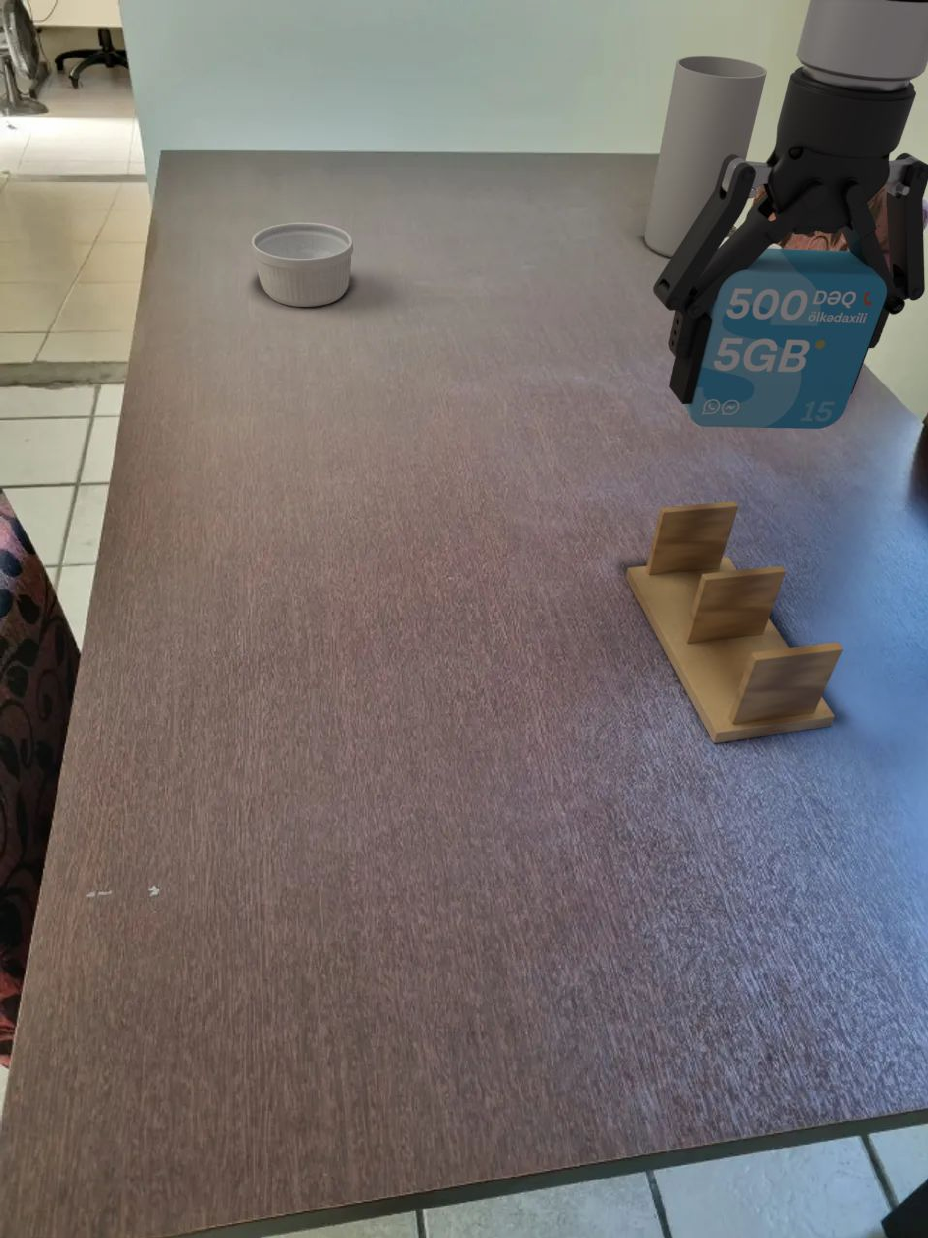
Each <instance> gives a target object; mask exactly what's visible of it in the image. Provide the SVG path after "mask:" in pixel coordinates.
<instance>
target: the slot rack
mask: <svg viewBox="0 0 928 1238" xmlns="http://www.w3.org/2000/svg"><path fill="white" fill-rule="evenodd" d="M738 510H739V504H738V503H737V502H736V501H735V500H731V501H720V502H719V501H718V502H708V503H697V504H686V505H676V506H665V507H663V506H662V507H660V509H659V513H658V518H657V521H656V526H655V530H654V534H653V538H652V542H651V545H650V552H649V554H648V559H647V563H646V565H640V566H632V567H631V566H630V567H627V569H626V574H625V579H626V581H627V583H628V586H629V587H630V589H631V590H632V593H633V594H634V596H635V598H636V600H637V602H638V604H639V605H640V607H641V609H642V611H643V613H644V615H645V617H646V619H647V621H648V622H649V624H650V626H651V628H652V630H653V632H654V634H655V636H656V637H657V639H658V641H659V644H660V645H661V647H662V649H663V651H664V653H665V655H666V656H667V658H668V660H669V662H670V664H671V666H672V667H673V669H674V671H675V673H676V676H677V677H678V679H679V681H680V683H681V685H682V686H683V688H684V690H685V692H686V694H687V696H688V698H689V699H690V702H691V703H692V705H693V707H694V709H695V711H696V713H697V714H698V717H699V719H700V721H701V722H702V724H703V726H704V727H705V730H706V732H707V734H708V735H709V737H710V740H711V741H712V743H713V744H716V743H718V744H719V743H724V742H732V741H738V739H739V740H744V739H752V738H759V737H764V736H765V737H766V736H772V735H773V736H774V735H780V734H786V733H794V732H801V731H808V730H814V729H821V728H829V727H831V726H832V724H833V722H834V720H835V718H836V716H835V714H834V712H833V711H832V709H831V708H830V707H829V705H828V703H827V701H826V700H825V699H824V698H823V695H824V692H825V690H826V688H827V686H828V684H829V681H830V679H831V676H832V675H833V673H834V671H835V669H836V666H837V664H838V661H839V659H840V657H841V654H842V652H843V651H844V648H843V647H842V645H841V644H840V643H839V641H836V642H835V641H834V642H827V643H818V644H810V645H805V646H804V645H803V646H795V647H789V645H788V644H787V643H786V640H785V639H784V638H783V636H782V635H781V633H780V632H779V630H778V629H777V627H776V626H775V624H774V623H773V622H772V620H771V619H770V616H771V614H772V611H773V608H774V607H775V603H776V601H777V598H778V595H779V592H780V590H781V587H782V584H783V582H784V579H785V576H786V573H787V570H786V569H785V567H784V566H783V565H775V566H765V567H756V568H746V569H737V568H736V566H735V564H733V562H732V560H731V559H730V558H729V557H724V554H725V551H726V548H727V545H728V543H729V538H730V535H731V532H732V529H733V526H734V522H735V519H736V516H737V512H738ZM807 729H808V730H807ZM793 731H794V732H793Z"/></svg>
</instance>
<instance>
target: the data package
mask: <svg viewBox="0 0 928 1238" xmlns="http://www.w3.org/2000/svg"><path fill="white" fill-rule="evenodd" d="M886 295H887V287H886V284H885V282H884V280H883V279H882V278H881V277H880V276H879V275H878V274H877V273H876V272H875V271H874V270H873V269H872V268H871V267H868V266H867V265H865V264H864V263H863V262H862V261H861V260H859V259H858V258H857V257H856V256H854V255H853V254H852V253H850V251H849V250H827V249H825V250H823V249H797V248H796V249H794V248H782V249H769V248H767V249H766V250H765V251H764V252H763V253H762V254H761V255H760V256H759V257H758V258H757V259H756V260H755V262H754V263H753V264H752V265H751V266H750V267H749V268H748V269H747V270H741V271H738V272H736V273H734V274H733V275H731V276H730V277H729V278H728V279H727V280H726V281H725V282H724V283H723V285H722V287H721V289H720V291H719V294H718V298H717V300H716V301H715V302H714V303H713V304H712V305H711V306H710V307H709V308H708V309H707V310H706V311H705V312H706V313H707V315H708V316H709V317H710V318H711V319H712V324H711V328H710V332H709V336H708V340H707V344H706V348H705V352H704V356H703V360H702V364H701V368H700V372H699V376H698V380H697V384H696V388H695V392H694V396H693V400H692V404H683V405H684V407H685V409H686V412H687V413H688V416H689V417H690V420H691V421H692V422H693V423H694V424H696V425H697V426H701V427H704V428H743V429H744V428H745V429H746V428H747V429H748V428H750V429H752V428H753V429H796V430H797V429H798V430H800V429H801V430H802V429H803V430H805V429H806V430H820V429H825V428H828V427H830V426H832V425H834V424H835V423H836V422H837V421H839V420H840V418H841V417H842V416H843V414H844V413H845V410H846V407H847V405H848V402H849V400H850V396H851V395H852V394H851V391H852V389H853V386H854V383H855V381H856V378H857V375H858V372H859V370H860V367H861V364H862V362H863V359H864V356H865V353H866V351H867V348H868V345H869V343H870V340H871V337H872V334H873V332H874V329H875V326H876V324H877V321H878V318H879V315H880V313H881V310H882V307H883V305H884V302H885V299H886Z"/></svg>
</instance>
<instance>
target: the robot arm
mask: <svg viewBox="0 0 928 1238" xmlns="http://www.w3.org/2000/svg"><path fill="white" fill-rule="evenodd" d="M795 55H796V57H797V59H798V61H799V62H800V64H801V65H802V66H800V67H798V68H796V69H795V70H794V71H793V72H792V73H791V74H790V76H789V79H788V83H787V86H786V91H785V94H784V97H783V102H782V105H781V110H780V113H779V117H778V121H777V126H776V139H775V146H774V148H773V151H771V154H770V155H769V157H768V158H767V160H766V161H765V162H762V161H761V162H760V161H753V160H752V161H750V160H749V161H748V160H746V161H744V160H743V159H742V158H740V157H739V156H738V155H736V154H731V155H729V156H727V157H726V158H725V159H724V161H723V164H722V167H721V170H720V174H719V177H718V180H717V183H716V187H715V190H714V192H713V193H712V195H711V196H710V198H709V200H708V201H707V203H706V204H705V206H704V207H703V209H702V211H701V212H700V214H699V215H698V217H697V218H696V220H695V222H694V223H693V225H692V226H691V228H690V229H689V231H688V233H687V234H686V236H685V237H684V239H683V240H682V242H681V244H680V245H679V247H678V248H677V250H676V251H675V253H674V255H673V256H672V258H671V257H670V259H669V261H668V262H667V264H666V266H665V267H664V269H663V271H662V272H661V273H660V275H659V276H658V278H657V280H656V281H655V283H654V285H653V287H652V291H653V294H654V296H656V297H657V299H658V300H659V301H660V302H661V304H663V306H664V307H665V309H667V310H668V311H671V312H673V311H674V315H673V318H672V319H673V320H672V325H671V329H670V334H669V339H668V343H667V344H668V350H669V351H670V352H671V354H672V355H673V357H674V362H673V367H672V371H671V375H670V379H669V380H670V381H669V383H668V387H669V389H670V390H671V391H672V392H673V394H674V395H675V396H676V398H677V399H678V401H679V402H680V403H681V405H684V404H692V400H693V396H694V392H695V388H696V384H697V380H698V376H699V372H700V368H701V364H702V360H703V356H704V352H705V348H706V344H707V340H708V336H709V332H710V328H711V324H712V319H711V318H710V317H709V316H708V315H707V313H706V312H705V311H706V310H707V309H708V308H709V307H710V306H711V305H712V304H713V303H714V302H715V301H716V300H717V298H718V294H719V291H720V289H721V287H722V285H723V283H724V282H725V281H726V280H727V279H728V278H729V277H730V276H731V275H733V274H734V273H736V272H738V271H741V270H747V269H748V268H749V267H750V266H751V265H752V264H753V263H754V262H755V260H756V259H757V258H758V257H759V256H760V255H761V254H762V253H763V252H764V251H765V250H766V249H767V248H768V247H769V246H770V245H772V244H779V243H780V242H781V241H783V240H784V239H785V238H786V237H787V236H788V235H789V233H790V232H792V233H793V234H794V235H809V234H811V233H815V232H821V233H823V234H828V235H829V234H831V235H832V234H834V235H835V234H838V233H839V230H840V231H841V233H842V236H843V238H844V240H845V243H846V246H847V248H848V251H850V253H852V254H853V255H854V256H856V257H857V258H858V259H859V260H861V261H862V262H863V263H864V264H865V265H867V266H868V267H871V268H872V269H873V270H874V271H875V272H876V273H877V274H878V275H879V276H880V277H881V278H882V279H883V280H884V282H885V284H886V287H887V295H886V299H885V302H884V305H883V307H882V310H881V313H880V315H879V318H878V321H877V324H876V326H875V329H874V332H873V334H872V337H871V340H870V343H869V345H868V348H867V351H866V353H865V356H864V359H863V362H862V364H861V367H860V370H859V372H858V375H857V378H856V381H855V383H854V386H853V389H852V391H851V394H850V395H852V394H853V392H854V390H855V386H856V384H857V381H858V378H859V376H860V373H861V371H862V368H863V366H864V363H865V361H866V357H867V354H868V353H869V349H875V348H876V346H877V345H878V344H879V342H880V339H881V337H882V334H883V332H884V329H885V327H886V324H887V321H888V318H889V316H890V315H892V316H895V315H898V314H900V313H901V312H902V311H903V310H904V308H905V306H906V300H910V301H912V302H913V301H917V300H919V299H920V298H922V296H923V295H924V293H925V290H926V286H925V285H926V284H925V283H926V282H925V280H926V279H925V278H926V277H925V245H924V244H925V243H924V240H925V239H924V206H923V204H924V203H923V200H924V196H925V192H926V190H927V185H928V163H925V162H924V161H922V160H920V159H919V158H917V157H915V156H913V155H912V154H910V153H909V152H903V153H900V154H899V155H897V157H896V158H895V159H894V160H890V156H891V153H892V152H894V151H895V150H896V149H897V148H898V147H899V145H900V142H901V139H902V136H903V133H904V131H905V127H906V125H907V121H908V119H909V116H910V113H911V110H912V107H913V104H914V102H915V98H916V96H917V91H916V90H915V86H914V84H913V83H912V82H911V81H912V80H915V79H918V78H919V77H920V76H921V75H922V74H924V73H925V71H926V69H927V66H928V0H809V4H808V8H807V11H806V15H805V20H804V22H803V27H802V31H801V35H800V39H799V43H798V47H797V50H796V54H795ZM762 186H763V189H764V191H765V193H764V194H763V196H761V198H760V199H758V200H757V201H756V203H755V204H753V206H752V207H751V208H750V209H749V210H748V211H747V213H746V217H745V218H746V219H745V220H744V221H743V222H742V224H740V225H739V226H738V228H736V230H735V231H733V233H732V234H731V235H730V236H727V235H729V233H730V232H731V230H733V227H734V226H735V225H736V223H737V221H738V220H739V218H740V216H741V215H742V213H743V211H744V209H745V208H746V205H747V204H748V200H749V199H754V198H755V197H756V196H757V193H758V191H757V190H758V189H759V188H760V187H762ZM883 188H884V190H885V192H886V194H885V195H886V196H885V197H886V199H885V200H886V201H885V202H886V220H887V221H886V222H887V238H888V254H889V256H888V257H889V265H888V262H887V260H886V257H885V256H884V255H885V254H884V252H883V249H882V247H881V244H880V241H879V239H878V236H877V234H876V233H877V232H876V230H877V226H876V222H875V220H874V217H873V214H872V211H871V208H870V206H869V202H870V201H871V200H873V198H875V196H877V194H878V193H880V191H881V190H882V189H883ZM772 215H774V220H770V219H769V218H771V216H772ZM726 236H727V237H729V238H728V239H727V240H726V241H725V242H724V243H723V244H722V242H723V241H724V239H725V238H726ZM721 244H722V245H721ZM720 245H721V247H720ZM719 247H720V248H719ZM718 248H719V249H718Z"/></svg>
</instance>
